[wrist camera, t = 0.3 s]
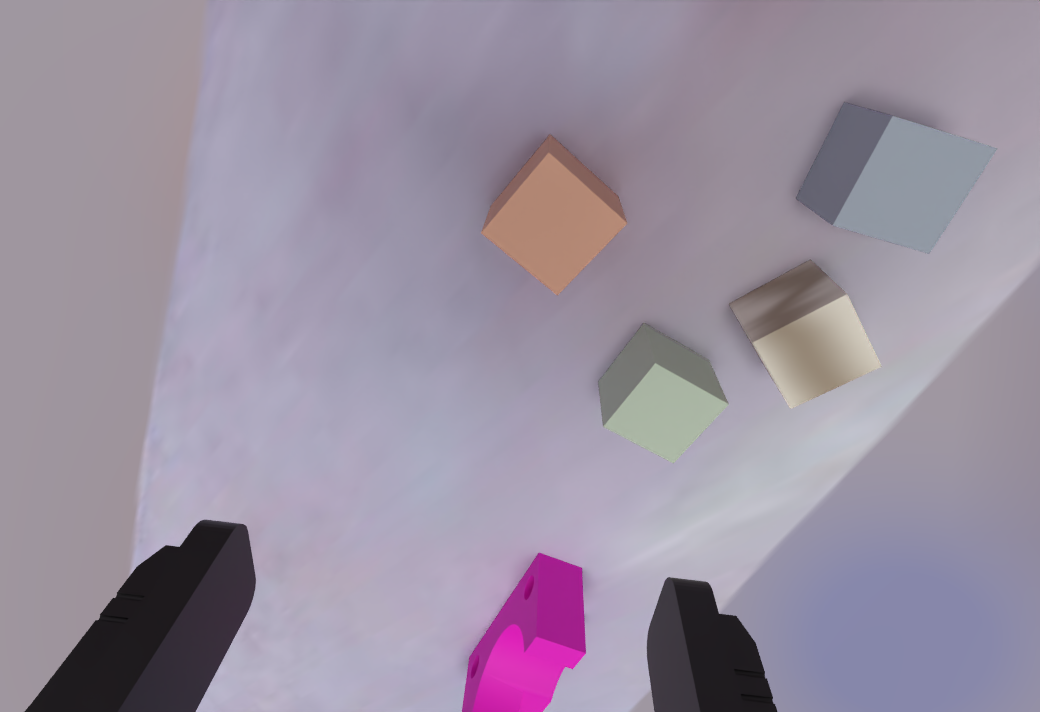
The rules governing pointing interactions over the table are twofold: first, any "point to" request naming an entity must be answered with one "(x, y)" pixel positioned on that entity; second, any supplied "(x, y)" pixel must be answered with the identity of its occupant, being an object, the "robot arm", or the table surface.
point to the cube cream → (805, 333)
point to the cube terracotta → (554, 216)
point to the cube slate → (892, 177)
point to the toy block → (529, 641)
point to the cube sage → (660, 394)
